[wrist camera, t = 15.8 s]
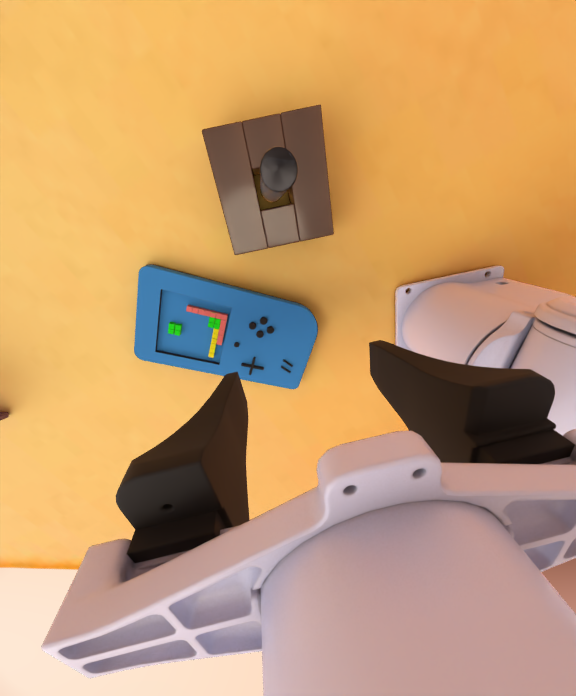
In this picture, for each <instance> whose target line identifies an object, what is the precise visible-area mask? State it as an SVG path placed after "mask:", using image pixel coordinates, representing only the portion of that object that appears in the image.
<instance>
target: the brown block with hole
mask: <svg viewBox="0 0 576 696" xmlns="http://www.w3.org/2000/svg"><path fill="white" fill-rule="evenodd" d="M202 134H203V137H204V141H205V145H206V149H207V153H208V156H209V160H210V164H211V168H212V171H213V175H214V179H215V183H216V186H217V190H218V194H219V198H220V201H221V205H222V209H223V213H224V217H225V220H226V224H227V228H228V232H229V235H230V239H231V243H232V247H233V250H234V254H235V255H238V254H243V253H248V252H253V251H257V250H262V249H267V248H271V247H276V246H281V245H286V244H290V243H295V242H299V241H305V240H310V239H314V238H319V237H324V236H329V235H333V234H334V232H333V222H332V212H331V202H330V192H329V182H328V172H327V163H326V153H325V143H324V133H323V123H322V113H321V105H316V106H311V107H307V108H302V109H297V110H292V111H288V112H283V113H281V114H274V115H270V116H265V117H260V118H255V119H251V120H246V121H243V122H236V123H231V124H227V125H222V126H217V127H212V128H208V129H203V130H202ZM273 147H284V148H286V149H288V150H289V151H290V152H291V153H292V154H293V155H294V157H295V159H296V161H297V165H298V175H297V179H296V181H295V183H294V185H293V186H292V187H291V188H290V189H289V190H288V192H289V198H290V204H289V205H284V206H279V207H274V208H270V209H265V210H261V211H260V207H259V202H258V197H257V192H256V187H255V183H254V178H253V175H256V174H260V162H261V159H262V157H263V155H264V154H265V153H266V152H267V151H268V150H269V149H271V148H273Z"/></svg>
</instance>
